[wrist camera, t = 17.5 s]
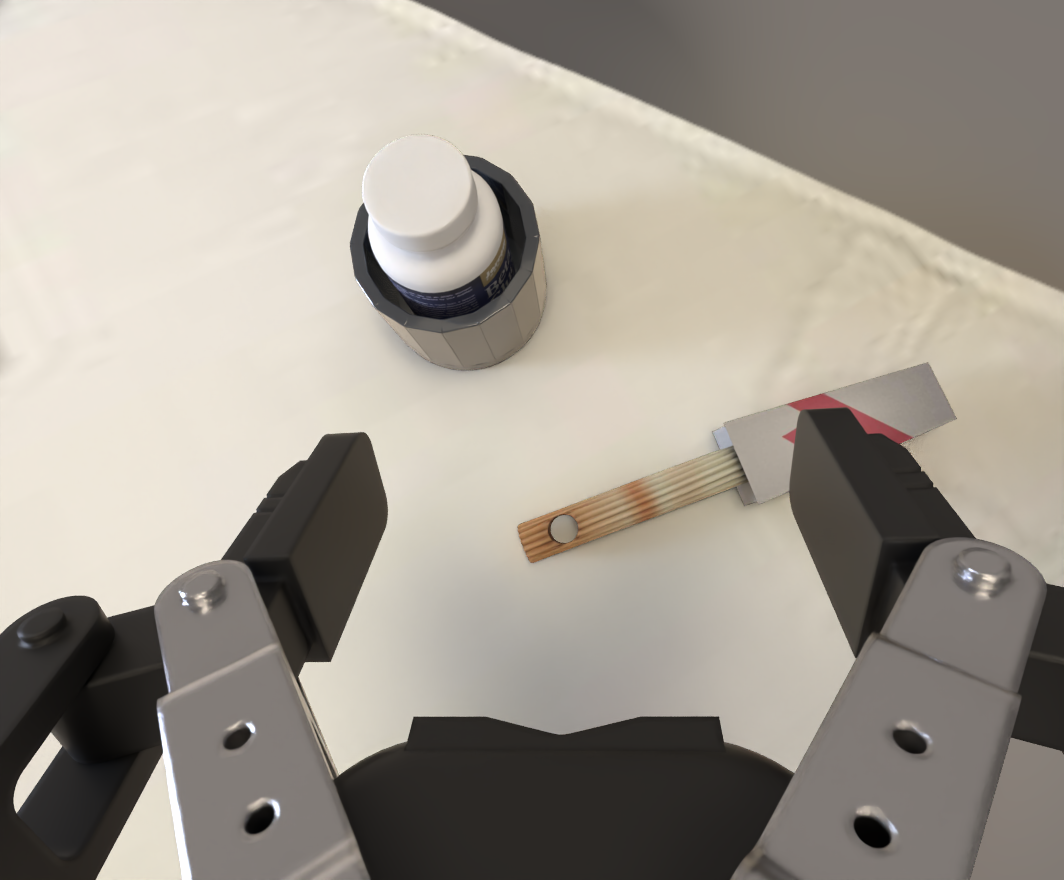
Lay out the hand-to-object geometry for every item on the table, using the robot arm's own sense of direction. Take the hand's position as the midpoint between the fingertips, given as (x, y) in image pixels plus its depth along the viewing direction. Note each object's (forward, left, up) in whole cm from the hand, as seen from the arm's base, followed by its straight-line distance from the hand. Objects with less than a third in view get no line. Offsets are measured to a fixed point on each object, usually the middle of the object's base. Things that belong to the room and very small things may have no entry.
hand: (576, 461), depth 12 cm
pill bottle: (+3, -12, -18) cm, 22 cm away
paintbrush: (-7, -1, -19) cm, 20 cm away
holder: (+3, -12, -19) cm, 23 cm away
